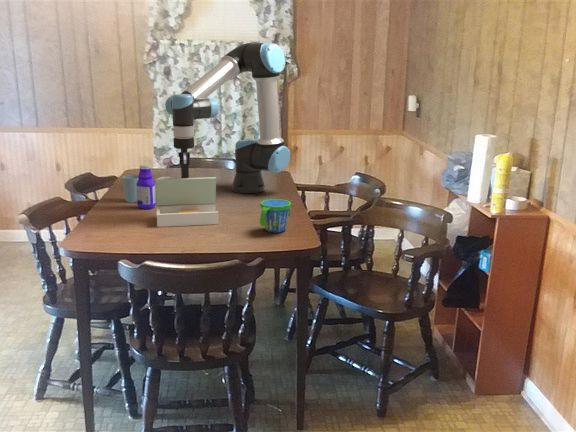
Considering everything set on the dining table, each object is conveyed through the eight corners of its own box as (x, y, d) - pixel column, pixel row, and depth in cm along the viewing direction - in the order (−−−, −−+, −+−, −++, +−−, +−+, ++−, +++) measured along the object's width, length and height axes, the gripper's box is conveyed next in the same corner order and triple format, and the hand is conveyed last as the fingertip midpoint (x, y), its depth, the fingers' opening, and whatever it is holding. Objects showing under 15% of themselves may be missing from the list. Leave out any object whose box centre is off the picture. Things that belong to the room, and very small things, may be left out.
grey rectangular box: (215, 215, 225) (215, 203, 224) (218, 224, 214) (218, 212, 213) (157, 217, 221) (156, 206, 220) (157, 226, 209) (156, 214, 208)
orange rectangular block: (198, 218, 221) (198, 209, 220) (198, 221, 217) (198, 212, 216) (179, 219, 220) (179, 209, 219) (179, 222, 216) (179, 213, 215)
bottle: (158, 206, 236) (156, 164, 232) (151, 210, 231) (148, 166, 227) (143, 205, 239) (140, 163, 234) (135, 208, 233) (132, 165, 229)
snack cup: (271, 238, 199) (272, 209, 196) (249, 231, 205) (249, 203, 202) (300, 228, 210) (301, 201, 207) (278, 222, 217) (278, 196, 214)
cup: (143, 202, 243) (142, 177, 240) (124, 204, 240) (123, 179, 237) (140, 198, 250) (138, 174, 247) (122, 199, 247) (120, 175, 244)
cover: (215, 204, 223) (215, 203, 224) (216, 178, 217) (215, 177, 217) (156, 206, 219) (156, 205, 220) (155, 180, 212) (155, 178, 213)
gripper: (172, 134, 220) (175, 195, 227) (173, 140, 208) (176, 203, 215) (193, 134, 222) (194, 194, 228) (194, 139, 209) (196, 203, 216)
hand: (185, 199), depth 221 cm, fingers closed
